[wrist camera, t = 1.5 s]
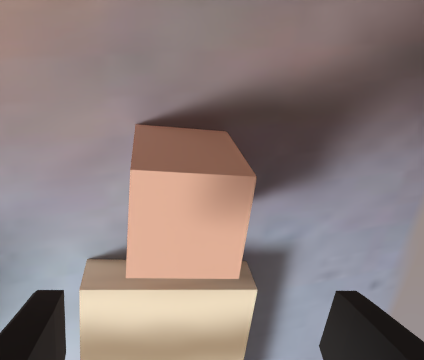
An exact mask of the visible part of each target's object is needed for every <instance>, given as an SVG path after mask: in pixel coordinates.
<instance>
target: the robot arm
mask: <svg viewBox="0 0 424 360" xmlns="http://www.w3.org/2000/svg"><path fill="white" fill-rule="evenodd" d="M319 347H320V350H321V354H322V357H323V360H424V342H423V341H422V340H421V339H419V338H418V337H417V336H415V335H414V334H413V333H411V332H410V331H409V330H408V329H406V328H405V327H404V326H402V325H401V324H400V323H398V322H397V321H396V320H395V319H393V318H392V317H391V316H390V315H388V314H387V313H386V312H384V311H383V310H382V309H380V308H379V307H378V306H377V305H375V304H374V303H373V302H371V301H370V300H369V299H367V298H366V297H364V296H363V295H361V294H360V293H359V292H357V291H336V293H335V296H334V299H333V303H332V306H331V309H330V312H329V316H328V319H327V322H326V325H325V328H324V332H323V335H322V338H321V341H320V345H319ZM65 355H66V338H65V310H64V290H37V291H36V292H35V293H33V294H32V295H31V297H30V298H29V299H28V300H27V302H26V303H25V304H24V305H23V307H22V308H21V309H20V310H19V311H18V313H17V314H16V315H15V316H14V317H13V319H12V320H11V321H10V322H9V323H8V324H7V326H6V327H5V328H4V329H3V330H2V331H1V333H0V360H65Z"/></svg>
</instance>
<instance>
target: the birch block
mask: <svg viewBox="0 0 424 360" xmlns="http://www.w3.org/2000/svg"><path fill="white" fill-rule="evenodd" d="M79 291H80V360H244V356H245V351H246V346H247V340H248V335H249V330H250V325H251V320H252V315H253V310H254V305H255V300H256V295H257V287H256V285H255V282H254V279H253V277H252V274H251V272H250V269H249V267H248V264H247V262H246V261H242V263H241V269H240V275H239V279H178V278H126V260H109V259H87V262H86V266H85V270H84V274H83V278H82V282H81V286H80V290H79Z"/></svg>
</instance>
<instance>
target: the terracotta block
mask: <svg viewBox="0 0 424 360" xmlns="http://www.w3.org/2000/svg"><path fill="white" fill-rule="evenodd" d="M256 178H257V176H256V175H255V173H254V172H253V170H252V169H251V167H250V166H249V164H248V163H247V161H246V160H245V158H244V157H243V155H242V154H241V152H240V151H239V149H238V148H237V146H236V145H235V143H234V142H233V140H232V139H231V137H230V136H229V134H228V133H227V131H215V130H202V129H190V128H177V127H164V126H151V125H138V124H136V125H135V134H134V143H133V152H132V160H131V169H130V191H129V214H128V237H127V260H126V278H178V279H239V275H240V269H241V263H242V258H243V252H244V246H245V241H246V235H247V229H248V224H249V218H250V212H251V207H252V201H253V195H254V190H255V184H256Z"/></svg>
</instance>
